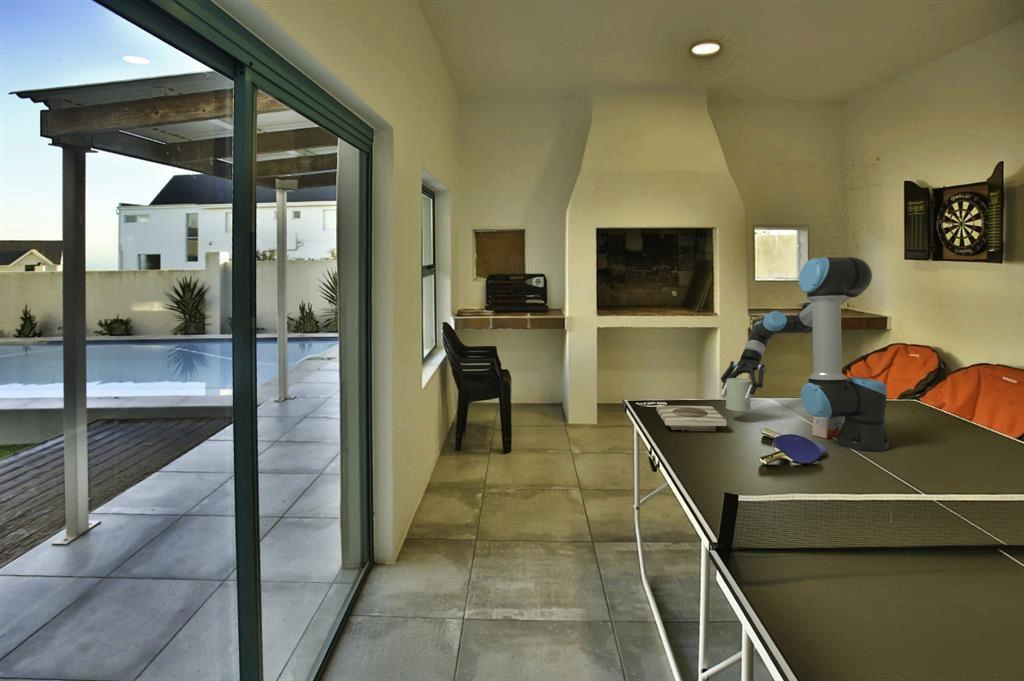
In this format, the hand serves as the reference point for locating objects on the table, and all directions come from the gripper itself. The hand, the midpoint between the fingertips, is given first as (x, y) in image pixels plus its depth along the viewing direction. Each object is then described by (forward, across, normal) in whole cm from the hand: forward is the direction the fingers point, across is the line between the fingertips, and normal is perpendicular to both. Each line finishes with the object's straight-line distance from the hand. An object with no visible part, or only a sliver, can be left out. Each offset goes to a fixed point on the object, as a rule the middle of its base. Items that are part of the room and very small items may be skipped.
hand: (734, 398), depth 226 cm
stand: (+17, +11, +3) cm, 21 cm away
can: (+1, 0, -6) cm, 6 cm away
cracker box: (+1, -32, -14) cm, 35 cm away
